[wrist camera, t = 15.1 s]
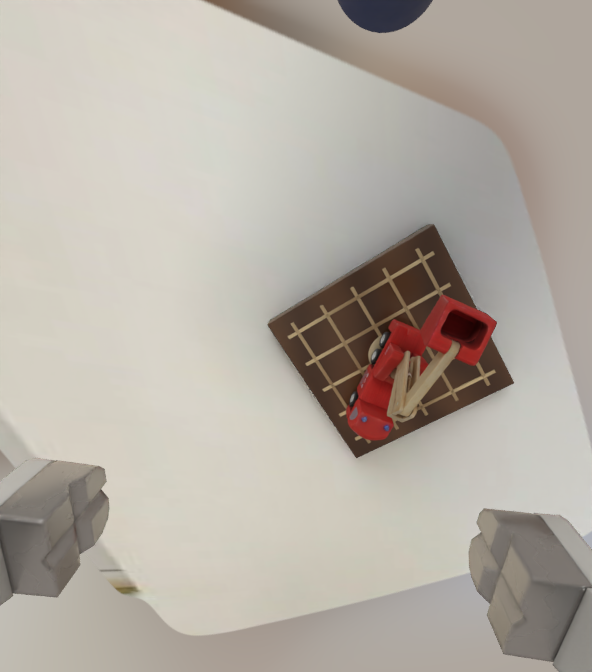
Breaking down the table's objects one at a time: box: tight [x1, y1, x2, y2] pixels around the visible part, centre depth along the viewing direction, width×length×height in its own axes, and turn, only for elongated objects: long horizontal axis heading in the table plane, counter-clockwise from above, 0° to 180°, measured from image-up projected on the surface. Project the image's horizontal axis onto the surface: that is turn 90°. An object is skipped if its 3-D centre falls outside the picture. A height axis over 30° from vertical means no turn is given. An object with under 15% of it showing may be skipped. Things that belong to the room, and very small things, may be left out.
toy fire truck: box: [346, 295, 497, 440], centre depth 27 cm, size 3×14×10 cm, turn 157°
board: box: [268, 224, 514, 458], centre depth 32 cm, size 16×16×2 cm
